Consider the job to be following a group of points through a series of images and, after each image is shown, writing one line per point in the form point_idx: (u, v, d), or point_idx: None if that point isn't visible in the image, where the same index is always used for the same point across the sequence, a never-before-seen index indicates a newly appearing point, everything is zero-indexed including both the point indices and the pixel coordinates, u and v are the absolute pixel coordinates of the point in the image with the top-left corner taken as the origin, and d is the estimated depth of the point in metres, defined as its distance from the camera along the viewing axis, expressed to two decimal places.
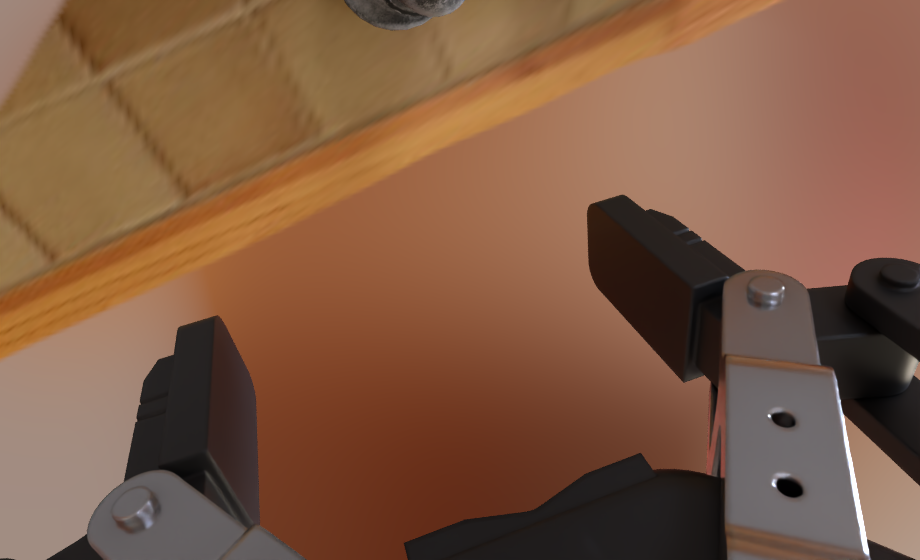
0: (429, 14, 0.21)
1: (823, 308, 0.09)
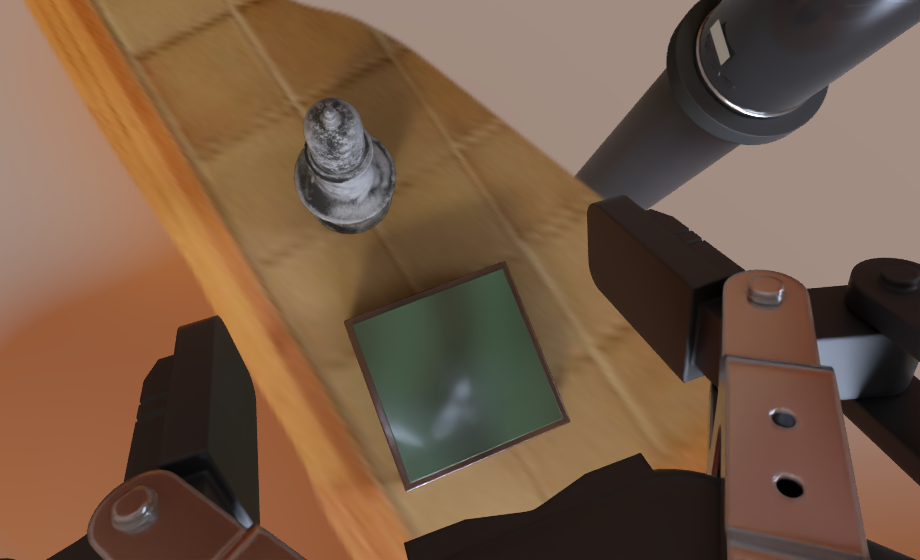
0: (304, 123, 0.28)
1: (823, 308, 0.09)
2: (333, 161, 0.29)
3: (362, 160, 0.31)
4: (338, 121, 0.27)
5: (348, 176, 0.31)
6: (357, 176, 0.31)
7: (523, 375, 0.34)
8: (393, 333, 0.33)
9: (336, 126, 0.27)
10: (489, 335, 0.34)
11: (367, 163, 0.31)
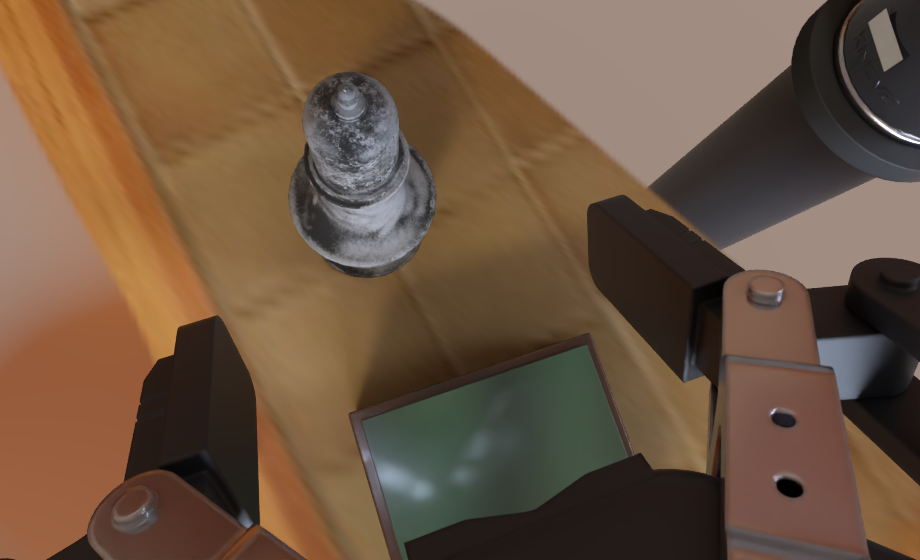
0: (304, 110, 0.17)
1: (823, 308, 0.09)
2: (348, 174, 0.18)
3: (393, 175, 0.20)
4: (361, 109, 0.16)
5: (369, 199, 0.20)
6: (383, 199, 0.20)
7: None
8: (422, 437, 0.22)
9: (357, 117, 0.16)
10: (564, 446, 0.22)
11: (400, 180, 0.20)
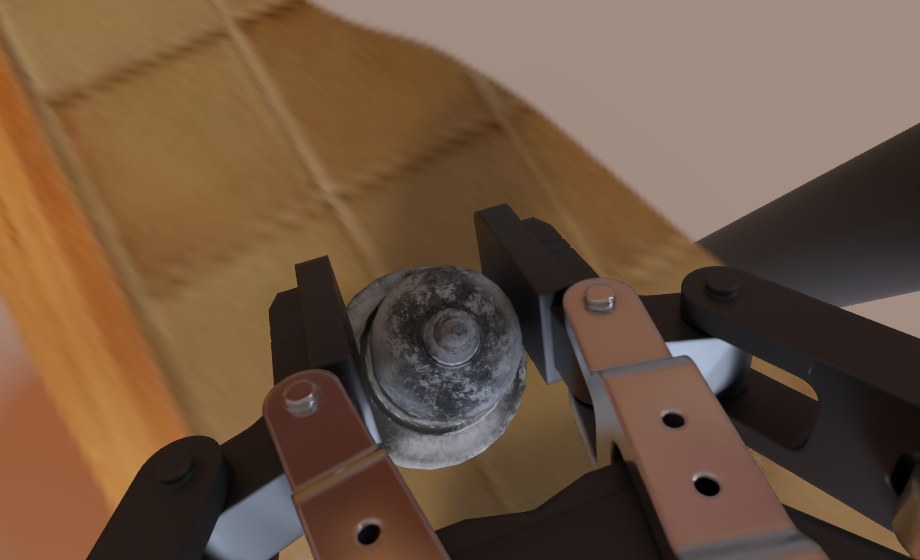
0: (375, 336, 0.10)
1: (659, 314, 0.10)
2: None
3: None
4: (473, 347, 0.10)
5: (458, 423, 0.13)
6: (477, 420, 0.13)
7: None
8: None
9: (467, 360, 0.10)
10: None
11: None
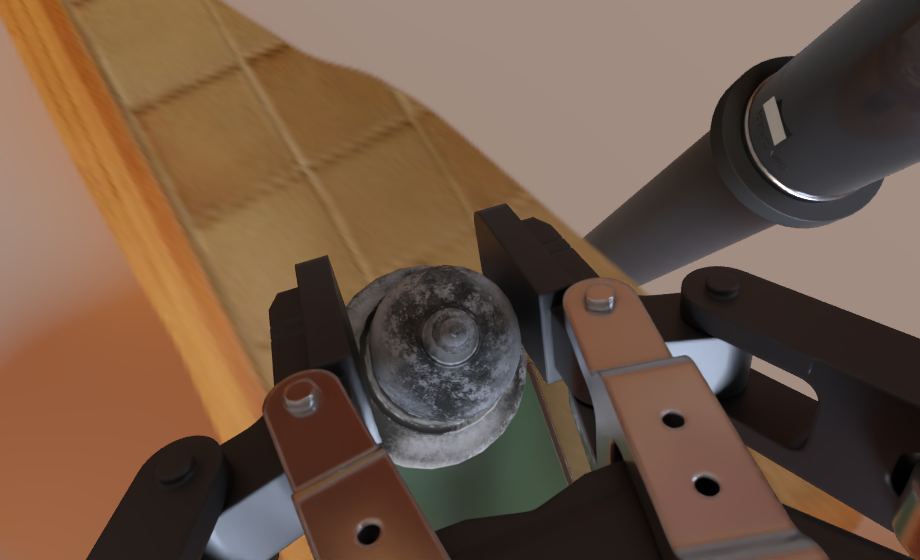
0: (375, 336, 0.10)
1: (659, 314, 0.10)
2: None
3: None
4: (472, 347, 0.10)
5: (458, 423, 0.13)
6: (477, 419, 0.13)
7: (547, 497, 0.29)
8: None
9: (466, 360, 0.10)
10: (510, 449, 0.30)
11: None
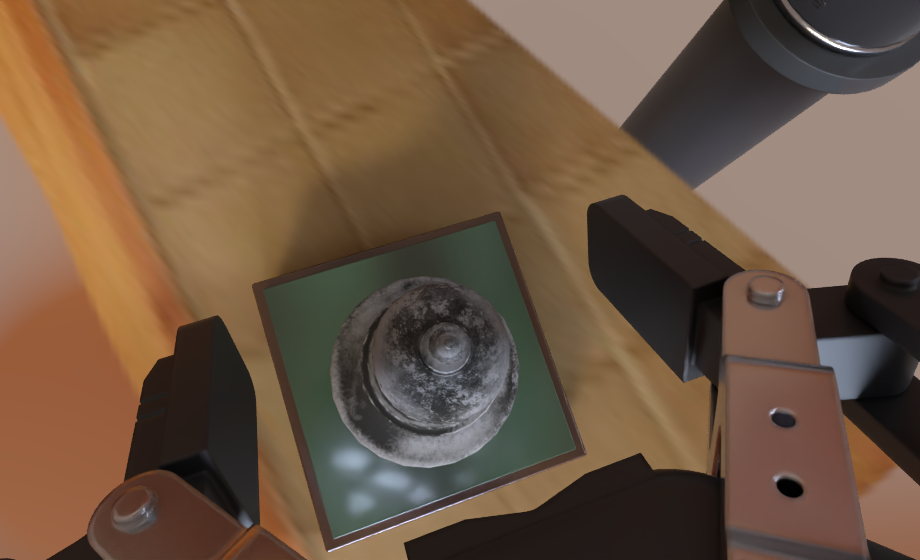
0: (377, 347, 0.11)
1: (823, 308, 0.09)
2: None
3: None
4: (465, 357, 0.11)
5: (453, 425, 0.14)
6: (471, 422, 0.14)
7: (518, 380, 0.22)
8: (324, 306, 0.22)
9: (458, 369, 0.11)
10: None
11: None
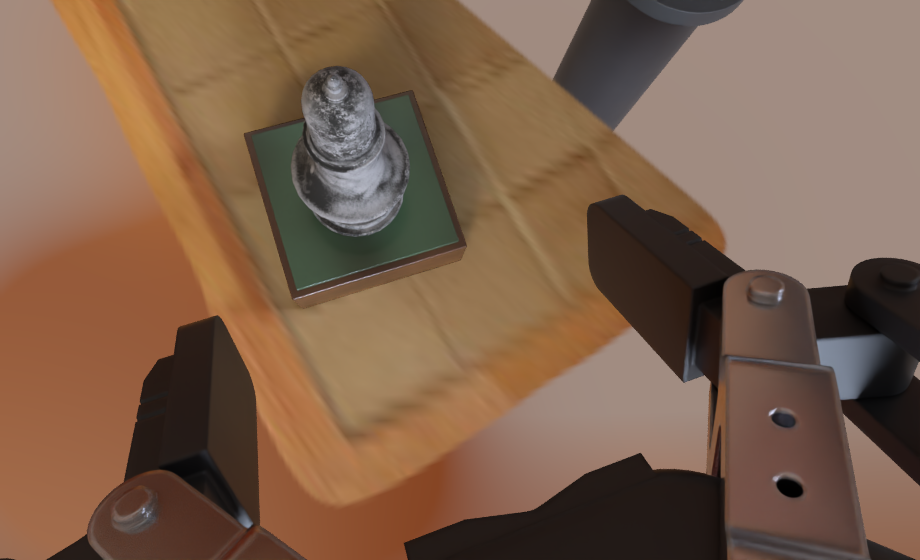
0: (303, 94, 0.23)
1: (823, 308, 0.09)
2: (335, 143, 0.23)
3: (372, 146, 0.26)
4: (344, 93, 0.22)
5: (354, 165, 0.25)
6: (364, 165, 0.26)
7: (421, 196, 0.33)
8: (292, 146, 0.33)
9: (341, 99, 0.22)
10: None
11: (377, 150, 0.26)
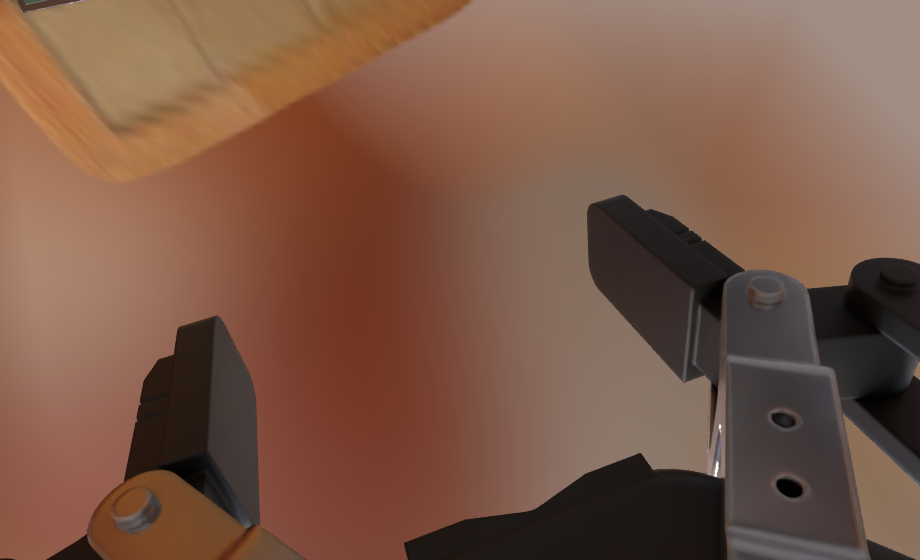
0: None
1: (823, 308, 0.09)
2: None
3: None
4: None
5: None
6: None
7: None
8: None
9: None
10: None
11: None
